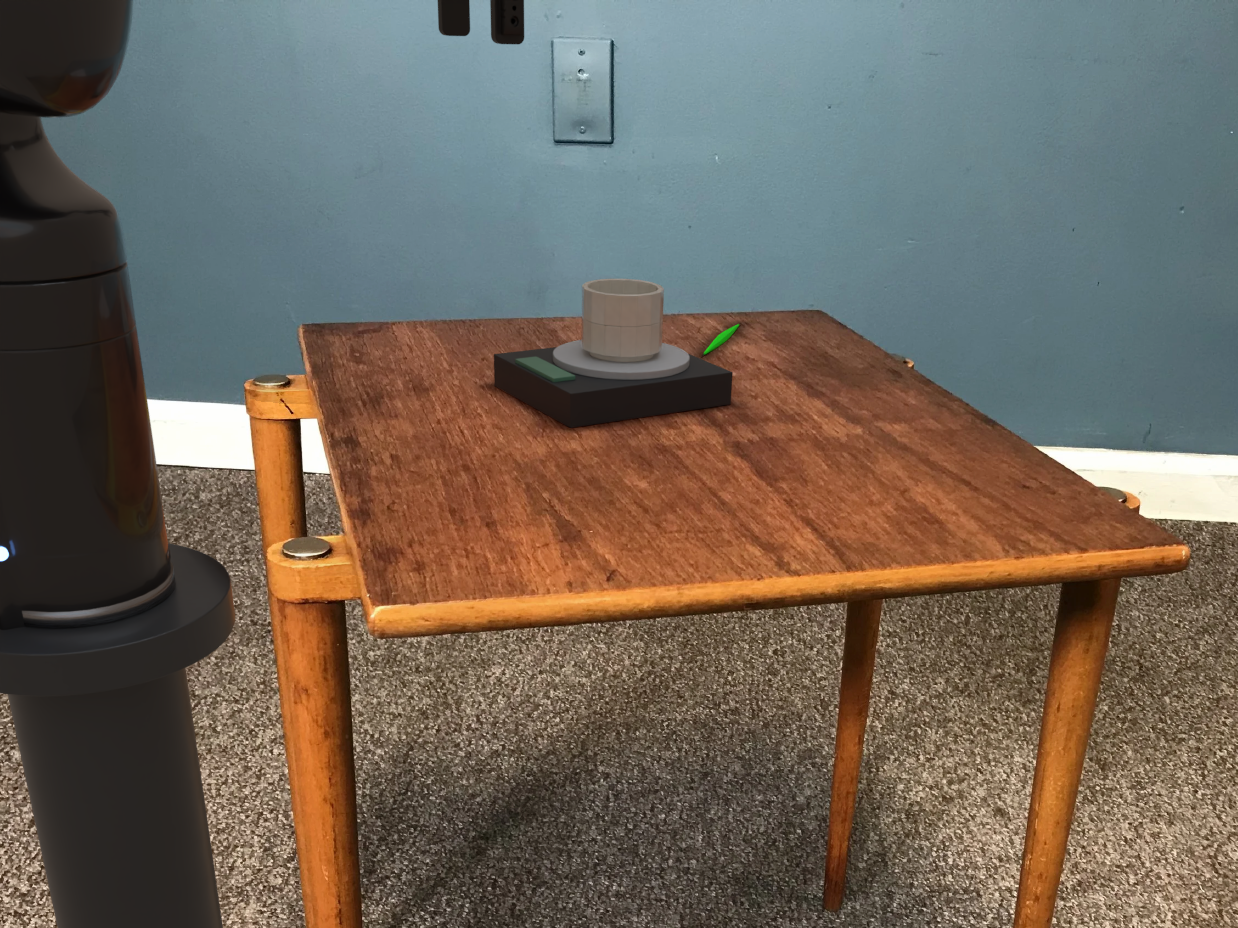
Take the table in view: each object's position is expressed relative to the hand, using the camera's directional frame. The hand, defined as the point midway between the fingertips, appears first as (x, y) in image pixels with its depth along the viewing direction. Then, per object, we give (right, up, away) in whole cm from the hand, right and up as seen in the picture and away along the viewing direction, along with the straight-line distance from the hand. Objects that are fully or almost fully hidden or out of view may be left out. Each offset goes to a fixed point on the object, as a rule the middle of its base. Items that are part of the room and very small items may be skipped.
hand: (480, 39), depth 96 cm
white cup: (+10, -21, +7) cm, 24 cm away
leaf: (+18, -16, +25) cm, 34 cm away
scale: (+9, -24, +8) cm, 26 cm away
